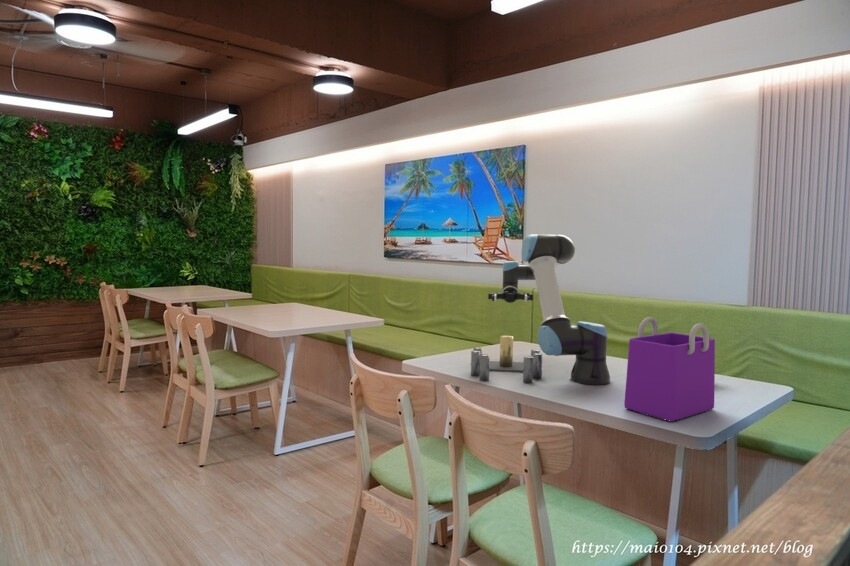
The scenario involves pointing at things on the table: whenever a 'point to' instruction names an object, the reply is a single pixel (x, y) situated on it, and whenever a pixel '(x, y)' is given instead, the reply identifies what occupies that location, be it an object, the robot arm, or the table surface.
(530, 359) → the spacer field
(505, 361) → the brass canister
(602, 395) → the table surface
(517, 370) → the mat
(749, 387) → the table surface
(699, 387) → the shopping bag
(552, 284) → the robot arm
